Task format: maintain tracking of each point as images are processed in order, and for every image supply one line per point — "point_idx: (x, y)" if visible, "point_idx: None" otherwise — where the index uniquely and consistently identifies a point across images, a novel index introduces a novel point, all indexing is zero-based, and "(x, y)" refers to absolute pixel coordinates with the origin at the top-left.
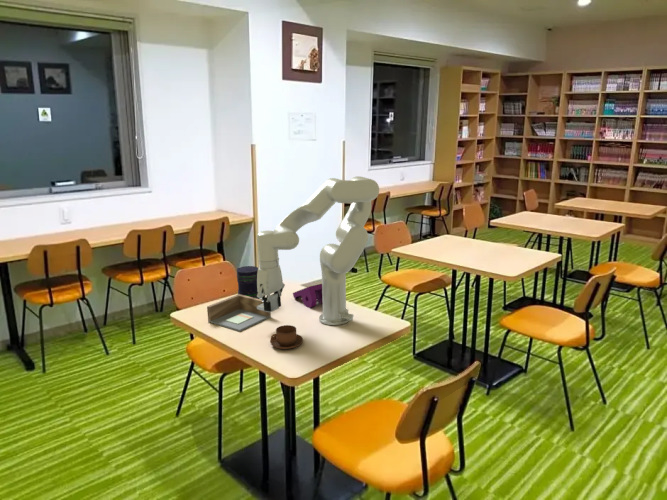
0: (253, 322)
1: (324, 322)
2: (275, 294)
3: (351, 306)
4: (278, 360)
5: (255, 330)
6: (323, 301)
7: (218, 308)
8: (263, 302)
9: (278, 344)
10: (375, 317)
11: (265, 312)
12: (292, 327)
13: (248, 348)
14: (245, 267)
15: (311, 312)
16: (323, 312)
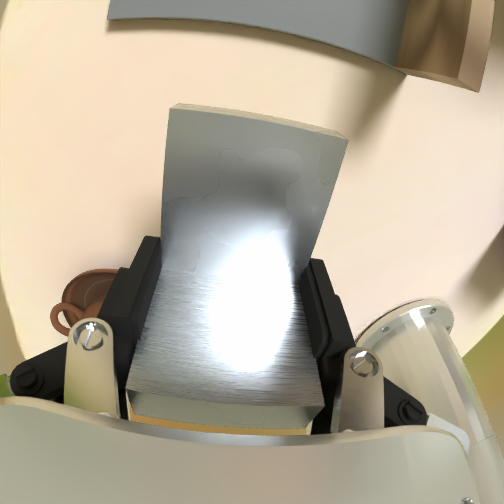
0: (260, 15)
1: (362, 342)
2: (271, 425)
3: (493, 319)
4: (42, 329)
5: (172, 87)
6: (414, 396)
7: None
8: (117, 296)
9: (103, 291)
10: None
11: (412, 46)
12: None
13: (11, 208)
14: None
15: (473, 245)
16: (399, 352)
